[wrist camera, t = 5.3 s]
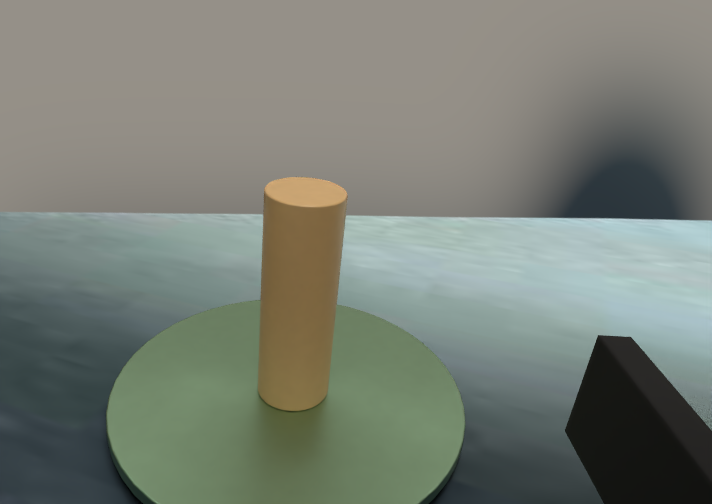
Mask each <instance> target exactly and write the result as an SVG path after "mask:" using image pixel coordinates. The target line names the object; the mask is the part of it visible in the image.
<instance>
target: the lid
mask: <svg viewBox="0 0 712 504" xmlns="http://www.w3.org/2000/svg"><path fill="white" fill-rule="evenodd" d="M347 197H348V196H347V192H346V191H345V189H343V188H342V187H341V186H339V185H337V184H335V183H332V182H329V181H325V180H321V179H316V178H308V177H290V178H282V179H278V180H274V181H272V182H270V183H268V184H267V185H266V187H265V189H264V214H263V244H262V274H261V300H255V301H247V302H240V303H235V304H230V305H225V306H221V307H218V308H214V309H210V310H207V311H204V312H202V313H199V314H196V315H193V316H191V317H189V318H186V319H184V320H182V321H180V322H178V323H176V324H174V325H172V326H170V327H169V328H167V329H165V330H164V331H162V332H160V333H159V334H157V335H156V336H155V337H153V338H152V339H151V340H149V341H148V342H147V343H145V344H144V345H143V346H142V347H141V348H140V349H139V350H138V351H137V352H136V353H135V354H134V355H133V356H132V357H131V358H130V360H129V361H128V362H127V363H126V365H125V366H124V367H123V369H122V370H121V372H120V374H119V375H118V377H117V379H116V381H115V382H114V385H113V388H112V391H111V393H110V396H109V399H108V405H107V411H106V430H107V440H108V445H109V449H110V453H111V457H112V460H113V462H114V464H115V466H116V468H117V470H118V472H119V474H120V476H121V478H122V480H123V481H124V482H125V484H126V485H127V486H128V487H129V489H130V490H131V491H132V493H133V494H134V495H135V496H136V497H137V498H138V499H139V500H140V501H141V502H142V503H143V504H429V503H430V502H431V501H432V500H433V499H434V498H435V497H436V496H437V494H438V493H439V492H440V491H441V489H442V488H443V487H444V486H445V485H446V483H447V482H448V480H449V478H450V476H451V474H452V473H453V471H454V469H455V467H456V464H457V461H458V458H459V455H460V452H461V449H462V445H463V440H464V432H465V413H464V407H463V403H462V399H461V395H460V392H459V390H458V388H457V385H456V383H455V381H454V379H453V377H452V376H451V374H450V373H449V371H448V370H447V368H446V367H445V365H444V364H443V363H442V362H441V361H440V360H439V358H438V357H437V356H436V355H435V354H434V353H433V352H432V351H431V350H430V349H429V348H428V347H426V346H425V345H424V344H423V343H422V342H420V341H419V340H418V339H416V338H415V337H414V336H412V335H411V334H409V333H408V332H406V331H404V330H403V329H401V328H399V327H398V326H396V325H394V324H392V323H390V322H388V321H386V320H384V319H382V318H379V317H376V316H374V315H371V314H369V313H366V312H363V311H360V310H356V309H353V308H350V307H346V306H341V305H337V296H338V286H339V276H340V266H341V256H342V246H343V237H344V227H345V217H346V206H347Z"/></svg>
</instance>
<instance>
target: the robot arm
mask: <svg viewBox="0 0 712 504" xmlns="http://www.w3.org/2000/svg"><path fill="white" fill-rule="evenodd" d="M565 432H566V434H567V436H568V438H569V439H570V441H571V443H572V445H573V447H574V449H575V451H576V452H577V454H578V456H579V458H580V460H581V462H582V463H583V465H584V467H585V469H586V471H587V473H588V475H589V476H590V478H591V480H592V482H593V484H594V486H595V487H596V489H597V491H598V493H599V495H600V497H601V499H602V500H603V502H604V504H712V431H711V430H710V428H709V427H708V426H707V425H706V424H705V423H704V421H703V420H702V419H701V418H700V417H699V416H698V414H697V413H696V412H695V411H694V410H693V409H692V407H691V406H690V405H689V404H688V403H687V402H686V400H685V399H684V398H683V397H682V396H681V395H680V393H679V392H678V391H677V390H676V389H675V388H674V387H673V385H672V384H671V383H670V382H669V381H668V380H667V378H666V377H665V376H664V375H663V374H662V373H661V371H660V370H659V369H658V368H657V367H656V366H655V364H654V363H653V362H652V361H651V360H650V359H649V357H648V356H647V355H646V354H645V353H644V352H643V350H642V349H641V348H640V347H639V346H638V345H637V343H636V342H635V341H634V340H633V339H632V338H631V337H619V336H601V335H598V337H597V340H596V343H595V346H594V349H593V352H592V354H591V357H590V360H589V363H588V366H587V369H586V372H585V375H584V377H583V380H582V383H581V386H580V389H579V392H578V395H577V398H576V400H575V403H574V406H573V409H572V412H571V415H570V418H569V421H568V423H567V426H566V429H565Z"/></svg>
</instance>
